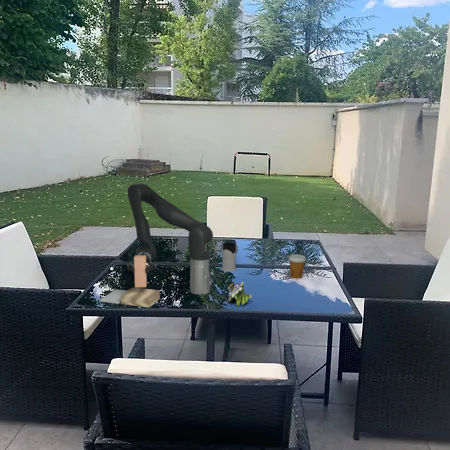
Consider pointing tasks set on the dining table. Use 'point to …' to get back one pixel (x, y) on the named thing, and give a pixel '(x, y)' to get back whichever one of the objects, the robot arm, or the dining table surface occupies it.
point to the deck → (140, 297)
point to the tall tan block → (140, 271)
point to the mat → (113, 296)
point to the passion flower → (237, 290)
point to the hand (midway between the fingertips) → (140, 270)
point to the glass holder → (229, 257)
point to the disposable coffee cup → (297, 265)
